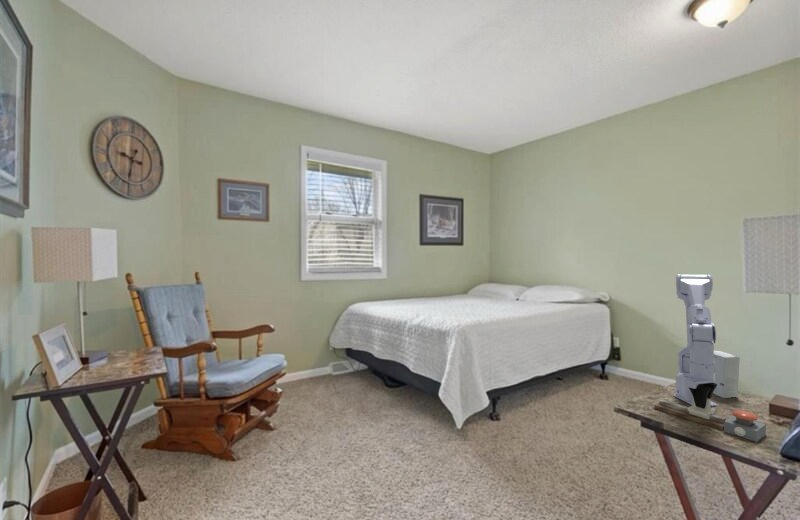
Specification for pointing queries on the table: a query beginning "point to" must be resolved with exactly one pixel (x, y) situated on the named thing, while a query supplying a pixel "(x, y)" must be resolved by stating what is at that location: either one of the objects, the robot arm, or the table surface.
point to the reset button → (744, 417)
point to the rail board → (684, 413)
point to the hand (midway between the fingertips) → (702, 406)
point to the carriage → (700, 411)
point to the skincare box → (726, 374)
